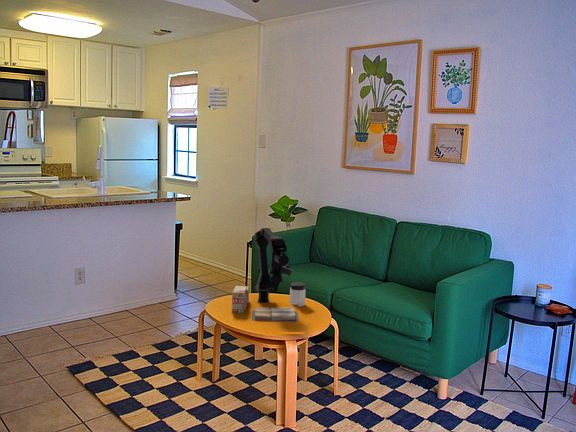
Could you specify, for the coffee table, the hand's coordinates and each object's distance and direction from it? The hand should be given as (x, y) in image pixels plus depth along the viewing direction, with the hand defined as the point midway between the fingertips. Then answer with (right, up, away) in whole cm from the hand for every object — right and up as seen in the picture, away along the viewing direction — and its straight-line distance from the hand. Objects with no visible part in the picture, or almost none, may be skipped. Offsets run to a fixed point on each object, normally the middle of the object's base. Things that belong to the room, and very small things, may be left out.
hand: (275, 289), depth 293 cm
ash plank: (+4, -12, -8) cm, 15 cm away
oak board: (-6, -12, -9) cm, 16 cm away
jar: (+12, -11, +15) cm, 22 cm away
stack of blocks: (-19, -11, +5) cm, 23 cm away
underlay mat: (0, -13, -8) cm, 16 cm away
